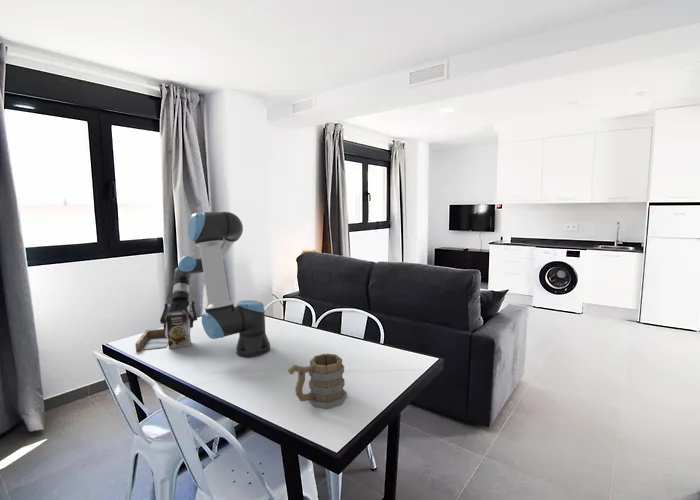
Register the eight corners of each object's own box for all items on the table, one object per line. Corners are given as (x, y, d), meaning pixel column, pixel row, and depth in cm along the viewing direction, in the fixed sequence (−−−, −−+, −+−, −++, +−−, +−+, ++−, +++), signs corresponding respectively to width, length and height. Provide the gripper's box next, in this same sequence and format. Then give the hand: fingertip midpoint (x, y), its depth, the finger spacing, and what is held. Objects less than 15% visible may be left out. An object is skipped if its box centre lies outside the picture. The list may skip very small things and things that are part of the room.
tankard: (335, 385, 135) (334, 346, 133) (352, 401, 124) (351, 359, 122) (283, 400, 126) (281, 358, 124) (296, 419, 115) (294, 373, 113)
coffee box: (168, 349, 173) (165, 315, 171) (171, 344, 179) (168, 312, 177) (189, 346, 175) (186, 313, 173) (191, 341, 181) (188, 310, 179)
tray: (165, 348, 174) (164, 340, 173) (136, 351, 170) (135, 343, 170) (173, 335, 191) (172, 327, 191) (146, 337, 188) (145, 330, 188)
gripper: (204, 296, 192) (203, 335, 179) (159, 299, 186) (154, 340, 173) (202, 288, 186) (201, 328, 173) (155, 291, 181) (150, 333, 168)
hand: (177, 334), depth 173 cm, fingers closed on coffee box, 9 cm apart
